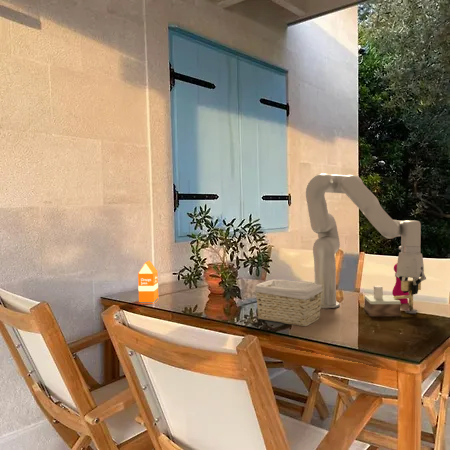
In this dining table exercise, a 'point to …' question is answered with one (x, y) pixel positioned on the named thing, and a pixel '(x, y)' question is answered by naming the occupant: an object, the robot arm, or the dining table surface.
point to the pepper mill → (399, 289)
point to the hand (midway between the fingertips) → (410, 292)
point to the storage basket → (289, 301)
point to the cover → (380, 297)
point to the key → (408, 287)
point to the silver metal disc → (411, 311)
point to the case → (382, 309)
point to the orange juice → (148, 283)
